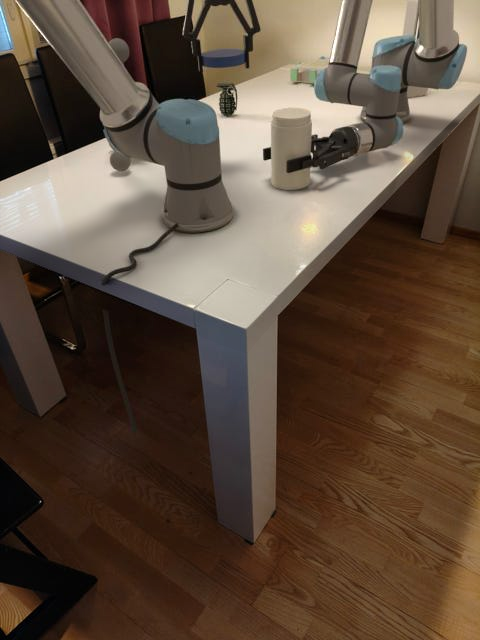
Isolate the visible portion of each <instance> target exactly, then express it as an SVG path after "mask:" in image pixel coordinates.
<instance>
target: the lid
mask: <svg viewBox="0 0 480 640" xmlns="http://www.w3.org/2000/svg"><path fill="white" fill-rule="evenodd" d="M201 56H202V67H203V68H209V69H222V68H223V69H225V68H233V67H238V66H242V65H244V63H245V51H244V49H239V48H219V49H212V50H207V51H204V52H201Z"/></svg>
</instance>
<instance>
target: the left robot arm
mask: <svg viewBox="0 0 480 640" xmlns="http://www.w3.org/2000/svg"><path fill="white" fill-rule="evenodd" d="M14 1H15V2H16V3H17V4H18V6H19V7H20V8H21V9H22V11H23V12H24V14H25V15H26V16H27V17H28V18H29V20H30V21H31V23H33V25H34V26H35V27H36V29H37V30H38V31H39V32H40V34H41V35H42V36H43V37H44V39H45V41H47V43H48V44H49V45H50V46H51V48H52V49H53V50H54V52H55V53H56V55H58V56H59V58H60V59H61V60H62V62H63V63H64V64H65V66H66V67H67V68H68V69H69V71H70V72H71V73H72V74H73V76H74V77H75V78H76V80H77V81H78V82H79V83H80V84H81V86H82V87H83V88H84V90H85V91H86V92H87V94H88V95H89V96H90V97H91V99H92V100H93V101H94V103H96V105H97V106H98V107H99V109H100V111H99V119H100V121H101V123H102V126H103V128H104V129H103V134H104V137H105V138H106V141H107V143H108V145H109V144H110V145H111V146H112V147H113V148H114V149H115V150H116V151H118V152H119V153H121V154H123V155H125V156H127V157H130V158H131V159H135V160H140V161H143V162H146V163H147V162H148V163H151V164H155V165H159V166H162V167H163V168H164V174H165V180H166V190H165V191H166V192H165V196H164V203H163V207H162V218H163V222H164V224H165V226H167V227H168V228H169V229H168V230H166V231H165V232H164V233H163V234H161V236H160V237H159V238H158V239H157V240H156V241H155V242H154V243H152V244H151V245H148V246H145V247H140V248H136V249H134V250H131V251H130V252H129V254H128V259H129V260H130V262H131V264H130V265H128V266H124V267H120V268H116V269H114V270H111V271H110V272H108V273H107V274H106V275H105V277H104V278H103V280H102V282H101V285H100V286H106V285H107V284H108V282H109V280H110V279H111V278H113V277H114V276H117V275H119V274H122V273H126V272H130V271H132V270H133V269H135V268H136V267H137V264H138V263H137V260H136V258H135V257H134V256H135V255H137V254H142V253H147V252H151V251H152V250H154V249H156V248H157V247H158V246H159V245H161V243H163V241H164V240H165V239H166V238H167V237H168V236H169V235H171V233H173V232H174V231H177V232H180V233H190V234H191V233H192V234H193V233H194V234H195V233H196V234H197V233H205V232H206V233H207V232H210V231H215V230H216V229H220V228H222V227H224V226H226V225H227V224H228V223H230V221H231V220H232V218H233V216H234V212H233V211H234V210H233V205H232V201H231V200H230V197H229V195H228V192H227V190H226V187H225V184H224V182H223V175H222V174H223V173H222V158H221V140H220V127H219V123H218V116H217V113H216V110H215V109H214V108H213V107H212V106H211V105H210V104H208V103H206V102H203V101H200V100H198V99H197V100H196V99H191V98H188V99H184V98H174V99H168V100H165V101H163V102H161V103H159V102H158V101H157V100H156V98H155V97H154V95H153V94H152V92H151V91H150V89H149V88H148V87H147V85H146V84H145V83H142V82H140V81H135V80H134V79H133V78H132V76H131V74H130V73H129V71H128V70H127V68H126V67H125V65H124V66H123V64H122V63H121V61H120V60H119V58H118V57H117V55H116V54H115V52H114V51H113V49H112V48H111V46H110V45H109V42H108V41H107V39H106V37H105V35H104V34H103V33H102V31H101V30H100V28H99V27H98V26H97V24H96V22H95V21H94V19H93V18H92V17H91V15H90V14H89V12H88V10H87V9H86V7H85V6H84V5H83V3H82V1H81V0H14ZM244 1H245V4H246V8H247V12H248V14H249V15H248V16H249V19H250V22H251V25H252V26H250V24H249V23H248V21H247V19H246V18H245V16H244V14H243V13H242V11H241V9H240V7H239V6H238V4H237V2H236V0H204V2H203V4H202V7H201V9H200V12H199V14H198V16H197V19H196V21H195V23H194V26H193V28H192V31H191V32H190V29H191V23H192V17H193V12H194V6H195V0H187V2H186V3H187V4H186V10H185V15H184V16H185V18H184V22H183V28H182V37H183V38H184V39H187V40H189V41H190V43H191V53H192V56H193V57H197V64H198V72H199V73H200V74H201V73H204V66H202V56H201V54H202V47H201V46H202V45H201V40H200V38H198V37H199V34H200V32H201V29H202V28H203V25H204V22H205V21H206V18H207V16H208V13H209V11H210V10H211V6H212V7H219V6H226V7H227V6H228V5H229V7H230V8H231V10H232V11H233V13H234V15H235V16H236V18H237V20H238V21H239V23H240V25H241V27H242V28H243V30H244V32H245V34H246V35H243V36H242V37H243V38H242V39H243V40H242V41H243V50H244V51H245V63H244V64H243V65H244V68H245V69H247V70H248V69H250V52H251V53H252V52H253V51H254V35H256V34H257V33H260V32H261V25H260V22H259V18H258V14H257V12H256V9H255V6H254V2H253V0H244ZM110 145H109V146H110ZM115 150H114V151H115ZM102 312H103V313H102V314H103V321H104V322H103V323H104V328H105V335H106V339H107V345H108V349H109V353H110V358H111V361H112V366H113V369H114V372H115V375H116V379H117V383H118V386H119V388H120V389H119V390H120V393H121V395H122V397H123V402H124V405H125V408H126V411H127V415H128V419H129V422H130V426H131V430H132V432H133V435H134V436H136V435H138V430H137V425H136V423H135V419H134V415H133V411H132V407H131V404H130V401H129V397H128V395H127V392H126V388H125V385H124V381H123V378H122V374H121V371H120V367H119V363H118V360H117V356H116V351H115V347H114V342H113V337H112V331H111V325H110V316H109V310H106V309H102Z"/></svg>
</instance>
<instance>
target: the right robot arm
mask: <svg viewBox="0 0 480 640" xmlns="http://www.w3.org/2000/svg"><path fill="white" fill-rule="evenodd" d="M373 2H374V0H341V1H340V5H339V6H340V7H339V10H338V11H339V12H338V17H337V20H336V26H335V31H334V36H333V40H332V46H331V47H332V48H331V51H330V56H329V58H330V60H329V65H328V69H326V70H322V71H320V72H319V73H318V75H317V78H316V79H315V84H313V85H314V86H313V92H314V95H315V97H316V99H318V100H319V101H322V102H326V103H330V104H339V105H340V104H341V105H349V106H353V107H354V106H355V107H362V109H361V112H360V120H361V122H357V123H352V124H349V125H346V126H341V127H338V128H334V129H333V130H332V131H331V133H330V134H329V136H322V137H319V135H318V134H316V133H315V134H312V136H311V155H307V156H303V157H299V158H295V159H292V160H288V161H287V166H286V172H287V173H291V172H295V171H299V170H302V169H306V168H309V167H310V168H318V167H319V168H318V169H320V170H324V169H327V168H328V167H331V166H334V165H335V164H338V163H340V162H341V161H347V160H349V158H352V157H359V155H363V154H366V153H369V152H370V153H371V152H374V151H378V150H383V149H387V148H389V147H392V146H394V145H396V144H398V143H399V142H401V140H402V138H403V136H404V130H405V129H404V127H403V124H404V123H406V122H408V121H409V120H410V117H411V116H410V115H411V112H410V111H411V110H410V104H409V97H407V89H408V86H415V87H423V88H428V89H431V90H432V89H433V90H436V91H437V90H451V88H453V87H454V86H455V85H456V83H457V81H458V80H459V77H460V76H461V73H462V71H463V68H464V66H465V61H466V58H467V55H468V54H467V53H468V46H467V45H466V44H464V43H461V44H460V35H459V33H458V32H457V31H456V29H454V19H455V17H454V16H455V13H454V12H455V0H418V13H419V17H418V27H419V36H420V37H419V38H418V39H417V38H416V36H414V35H403V34H402V35H396V36H390V37H385V38H381V39H379V40H377V41H376V42H375V43H374V46H373V52H372V56H371V69H370V72H369V73H363V72H362V73H361V72H358V66H359V61H360V57H361V53H362V48H363V45H364V39H365V35H366V32H367V27H368V22H369V18H370V13H371V11H372V10H371V9H372V5H373ZM416 40H417V41H416ZM262 160H263V161H265V162H266V161H271V146H269V147H265V148H262Z"/></svg>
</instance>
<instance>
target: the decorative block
mask: <svg viewBox="0 0 480 640" xmlns="http://www.w3.org/2000/svg"><path fill="white" fill-rule="evenodd" d="M329 60H330V57H325V56H320V57H317V58H314V59H312V58H311V59H309V60H305V61H304V62H301V61H296V62H295V65H293V66H292V67H291V68H290V82H294V83H302V84H303V83H305V84H313V85H314V84H315V79H316V78H317V75H318V73H319V72H320V71H322V70H326V69H328V65H329Z"/></svg>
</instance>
